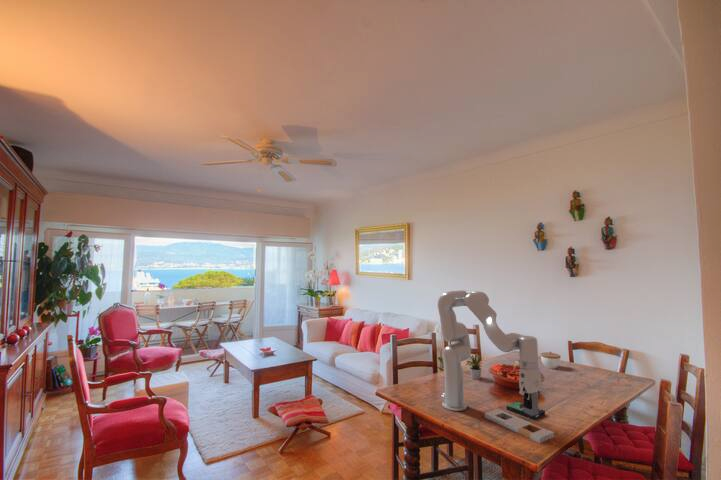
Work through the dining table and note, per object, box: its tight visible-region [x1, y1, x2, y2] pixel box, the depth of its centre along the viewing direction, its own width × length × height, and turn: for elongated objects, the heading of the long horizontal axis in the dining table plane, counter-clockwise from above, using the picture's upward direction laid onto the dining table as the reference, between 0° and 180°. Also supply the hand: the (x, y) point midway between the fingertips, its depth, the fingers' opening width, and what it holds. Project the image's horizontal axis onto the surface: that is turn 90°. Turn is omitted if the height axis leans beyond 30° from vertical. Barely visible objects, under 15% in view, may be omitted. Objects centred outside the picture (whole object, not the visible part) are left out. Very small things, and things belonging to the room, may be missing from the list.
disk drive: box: [505, 400, 546, 421], centre depth 172 cm, size 10×3×15 cm
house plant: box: [465, 352, 484, 380], centre depth 226 cm, size 14×14×16 cm
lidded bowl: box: [540, 351, 561, 370], centre depth 248 cm, size 13×13×11 cm
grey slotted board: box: [484, 408, 555, 444], centre depth 156 cm, size 28×10×2 cm, turn 30°
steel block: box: [524, 390, 539, 416], centre depth 151 cm, size 4×4×10 cm
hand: (530, 406), depth 151 cm, fingers closed on steel block, 4 cm apart
